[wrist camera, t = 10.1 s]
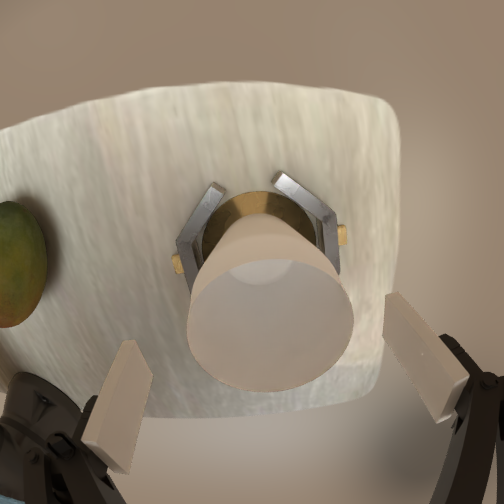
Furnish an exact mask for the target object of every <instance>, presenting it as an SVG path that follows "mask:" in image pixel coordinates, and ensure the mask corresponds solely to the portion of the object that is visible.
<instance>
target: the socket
mask: <svg viewBox="0 0 504 504" xmlns="http://www.w3.org/2000/svg"><path fill="white" fill-rule="evenodd" d="M271 183H272V184H273V186H274V187H276V188H277V189H278V190H280V191H281V192H283V193H284V194H286V195H287V196H288V197H290V198H291V199H292V200H294V201H295V202H297V203H298V204H299V205H301V206H302V207H303V208H305V209H306V210H308V211H309V212H310V213H312V214H313V215H314V216H316V220H317V230H318V239H319V250H320V251H321V252H322V253H323V254H324V255H325V256H326V257H327V258H328V259H329V261H330V262H331V263H332V265H333V266H334V268H335V270H336V272H337V274H338V275H339V273H340V259H339V245H345V244H347V235H346V227H345V226H344V225H341V226H337V218H336V214H335V212H334V211H333V210H332V209H331V208H329V207H328V206H327V205H326V204H324V203H323V202H322V201H321V200H319V199H318V198H317V197H315V196H314V195H313V194H311V193H310V192H309V191H307V190H306V189H305V188H303V187H302V186H301V185H299V184H298V183H297V182H295V181H294V180H293V179H291V178H290V177H288V176H287V175H286V174H284V173H283V172H281V171H280V170H279V172H278V173H277V174H276V176H275V177H274V178H273V180H272V181H271ZM224 194H225V189H223V188H222V187H220V186H219V185H217V184H216V183H214V182H213V183H212V185H211V186H210V188H209V189H208V191H207V192H206V194H205V195H204V197H203V199H202V200H201V202H200V203H199V205H198V206H197V208H196V209H195V211H194V212H193V214H192V216H191V217H190V219H189V220H188V222H187V223H186V225H185V227H184V228H183V230H182V231H181V233H180V235H179V236H178V238H177V240H176V246H177V249H178V253H179V254H176V255H173V256H172V257H171V258H172V262H173V265H174V268H175V272H176V274H179V273H184V274H185V277H186V280H187V284H188V287H189V290H190V294H191V293H192V288H193V284H194V282H195V279H196V277H197V275H198V273H199V271H200V269H201V267H202V266H203V264H202V260H201V257H200V253H199V249H198V245H197V241H196V236H197V235H198V233H199V232H200V230H201V229H202V227H203V226H204V224H205V223H206V221H207V220H208V218H209V217H210V215H211V214H212V212H213V211H214V209H215V208H216V206H217V205H218V203H219V202H220V200H221V199H222V197H223V196H224ZM292 200H290V199H288V198H286V197H284V196H282V195H279V194H276V193H272V192H263V191H256V192H249V193H245V194H241V195H238V196H236V197H234V198H232V199H230V200H228V201H227V202H225V203H224V204H223V205H221V206H220V207H219V208H218V209H217V210H216V211H215V212H214V214H213V215H212V216H211V218H210V220H209V221H208V223H207V225H206V228H205V230H204V234H203V239H202V254H203V259H204V262H205V261H206V260H207V258H208V257H209V255H210V254H211V252H212V251H213V250H214V248H215V247H216V245H217V244H218V242H219V241H220V239H221V238H222V237H223V235H224V234H225V232H226V231H227V229H228V228H229V227H230V226H231V225H232V224H233V223H234V222H235V221H237V220H238V219H240V218H242V217H244V216H247V215H250V214H257V213H263V214H269V215H273V216H275V217H278V218H280V219H281V220H283V221H284V222H285V223H287V224H288V225H289V226H290V227H292V228H293V229H294V230H296V231H297V232H298V233H299V234H301V235H302V236H303V237H304V238H306V239H307V240H308V241H309V242H310V243H312V244H313V245H314V246H315V247H316V235H315V231H314V228H313V225H312V223H311V221H310V219H309V217H308V216H307V215H306V213H305V212H304V211H303V210H302V209H301V207H299V206H298V205H297V204H296V203H295V202H293V201H292Z"/></svg>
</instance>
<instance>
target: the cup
mask: <svg viewBox="0 0 504 504" xmlns="http://www.w3.org/2000/svg"><path fill="white" fill-rule="evenodd" d="M353 324H354V317H353V310H352V306H351V303H350V300H349V298H348V296H347V293H346V291H345V289H344V287H343V285H342V283H341V281H340V279H339V276H338V274H337V272H336V270H335V268H334V266H333V265H332V263H331V262H330V261H329V259H328V258H327V257H326V256H325V255H324V254H323V253H322V252H321V251H320V250H319V249H318V248H317V247H315V246H314V245H313V244H312V243H310V242H309V241H308V240H307V239H306V238H304V237H303V236H302V235H301V234H299V233H298V232H297V231H296V230H294V229H293V228H292V227H290V226H289V225H288V224H287V223H285V222H284V221H283V220H281V219H280V218H278V217H275V216H273V215H269V214H263V213H257V214H250V215H247V216H244V217H242V218H240V219H238V220H237V221H235V222H234V223H233V224H232V225H231V226H230V227H229V228H228V229H227V231H226V232H225V234H224V235H223V237H222V238H221V239H220V241H219V242H218V244H217V245H216V247H215V248H214V250H213V251H212V252H211V254H210V255H209V257H208V258H207V260H206V261H205V263H204V264H203V266H202V267H201V269H200V271H199V273H198V275H197V277H196V279H195V282H194V284H193V288H192V293H191V302H190V309H189V314H188V319H187V326H186V333H187V340H188V344H189V347H190V350H191V352H192V354H193V356H194V358H195V359H196V361H197V362H198V363H199V365H200V366H201V367H202V368H203V369H204V370H205V371H206V372H207V373H209V374H210V375H211V376H212V377H214V378H215V379H217V380H219V381H221V382H222V383H224V384H227V385H229V386H232V387H235V388H238V389H242V390H247V391H253V392H276V391H283V390H288V389H292V388H295V387H298V386H301V385H304V384H306V383H308V382H310V381H312V380H314V379H316V378H317V377H319V376H321V375H322V374H323V373H325V372H326V371H327V370H329V369H330V368H331V367H332V366H333V365H334V364H335V363H336V362H337V361H338V359H339V358H340V357H341V356H342V354H343V353H344V351H345V349H346V348H347V345H348V343H349V341H350V338H351V335H352V331H353Z"/></svg>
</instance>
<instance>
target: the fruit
mask: <svg viewBox="0 0 504 504" xmlns="http://www.w3.org/2000/svg"><path fill="white" fill-rule="evenodd" d="M46 278H47V254H46V246H45V241H44V237H43V234H42V231H41V229H40V227H39V225H38V223H37V221H36V219H35V218H34V216H33V215H32V213H31V212H30V211H29V210H28V209H26V208H25V207H24V206H23V205H21V204H19V203H16V202H13V201H6V202H2V203H0V328H8V327H13V326H16V325H19V324H20V323H22V322H23V321H24V320H26V319H27V318H28V317H29V316H30V315H31V314H32V312H33V311H34V310H35V308H36V307H37V305H38V303H39V301H40V299H41V296H42V293H43V290H44V287H45V283H46Z"/></svg>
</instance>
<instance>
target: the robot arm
mask: <svg viewBox="0 0 504 504" xmlns="http://www.w3.org/2000/svg"><path fill="white" fill-rule="evenodd" d="M382 336H383V338H384V340H385V341H386V343H387V344H388V346H389V347H390V349H391V350H392V351H393V353H394V355H395V356H396V358H397V360H398V361H399V363H400V364H401V366H402V367H403V369H404V371H405V372H406V374H407V375H408V377H409V378H410V380H411V382H412V384H413V385H414V387H415V388H416V390H417V392H418V393H419V395H420V397H421V398H422V400H423V402H424V403H425V405H426V407H427V409H428V410H429V412H430V413H431V415H432V417H433V419H434V421H435V422H436V423H439V422H441V421H443V420H446V419H447V418H449V417H451V415H452V413H453V411H454V409H455V410H456V412H457V414H458V415H457V417H456V419H455V421H454V423H453V425H452V427H451V428H454V430H453V434H452V438H451V441H450V445H449V449H448V452H447V455H446V459H445V462H444V465H443V468H442V471H441V474H440V477H439V480H438V483H437V485H436V488H435V491H434V493H433V496H432V498H431V501H430V503H429V504H482V500H483V497H484V493H485V489H486V486H487V482H488V477H489V474H490V469H491V464H492V459H493V454H494V448H495V442H496V453H497V503H496V504H504V376H501V377H497V376H496V375H495V374H494V373H491V372H483V371H482V370H481V369H480V368H479V367H478V365H477V364H476V363H475V362H474V361H473V360H472V358H471V357H470V356H469V355H468V354H467V353H466V352H465V350H464V349H463V348H462V347H460V344H459V343H458V342H457V341H456V340H455V339H454V338H453V337H450V336H449V335H447V334H443V335H441V336H437V334H436V333H435V332H434V331H433V330H432V329H431V328H430V326H429V325H428V324H427V323H426V322H425V321H424V320H423V318H422V317H421V316H420V315H419V314H418V313H417V312H416V311H415V310H414V308H413V307H412V306H411V305H410V304H409V303H408V302H407V301H406V300H405V299H404V298H403V297H402V295H401V294H400V293H399V292H395V293H391V294H387V295H385V311H384V323H383V334H382ZM152 380H153V375H152V373H151V371H150V369H149V367H148V365H147V363H146V361H145V359H144V357H143V355H142V353H141V351H140V349H139V347H138V345H137V342H136V340H126V341H123V342H122V344H121V346H120V348H119V350H118V352H117V355H116V357H115V359H114V361H113V363H112V366H111V368H110V370H109V372H108V375H107V377H106V379H105V381H104V384H103V386H102V388H101V391H100V393H99V396H95V395H93V396H92V397H91V398H90V399H89V400H88V402H87V403H86V405H85V407H84V410H83V413H82V412H81V411H80V410H79V408H78V407H77V406H76V405H75V404H74V403H73V402H72V401H71V400H70V399H69V398H68V397H67V396H66V395H65V394H63V393H62V392H61V391H60V390H58V389H57V388H55V387H54V386H53V385H51V384H50V383H48V382H46V381H45V380H43V379H41V378H39V377H37V376H34V375H32V374H29V373H17V374H16V375H15V376H14V377H13V379H12V380H11V382H10V384H9V386H8V391H7V396H6V400H5V405H4V410H3V414H2V416H1V418H0V504H126V502H125V501H124V499H123V497H122V496H121V494H120V493H119V491H118V489H117V488H116V486H115V484H114V483H113V481H112V479H111V478H110V476H109V475H108V474H107V473H106V472H107V468H108V467H109V468H110V469H111V470H112V471H113V472H114V473H121V474H129V472H130V467H131V463H132V458H133V454H134V450H135V446H136V441H137V437H138V433H139V429H140V425H141V421H142V417H143V413H144V409H145V406H146V402H147V398H148V394H149V391H150V387H151V384H152Z"/></svg>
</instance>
